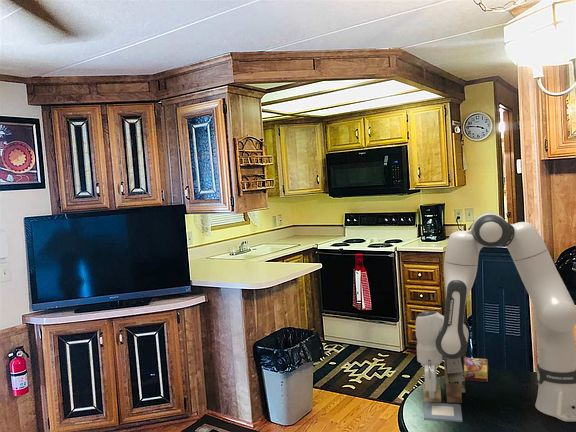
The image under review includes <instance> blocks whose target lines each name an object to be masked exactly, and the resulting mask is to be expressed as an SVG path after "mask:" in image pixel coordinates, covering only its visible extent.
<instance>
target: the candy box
mask: <svg viewBox="0 0 576 432" xmlns="http://www.w3.org/2000/svg"><path fill="white" fill-rule="evenodd" d="M464 375H465V381H469V382H470V381H472V382H484V383H485V382H486V383H488V381H489V380H488V375H489V365H488V359H487V358H476V357H475V358H474V357H464Z"/></svg>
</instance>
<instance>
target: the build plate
mask: <svg viewBox="0 0 576 432" xmlns="http://www.w3.org/2000/svg"><path fill="white" fill-rule="evenodd" d="M461 404H462V403H442V402H424V406H423V407H424V410H423V411H424V412H423V419H424V420H426V421H440V422H442V421H443V422H457V423H463V415H462V414H463V412H462V405H461Z"/></svg>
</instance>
